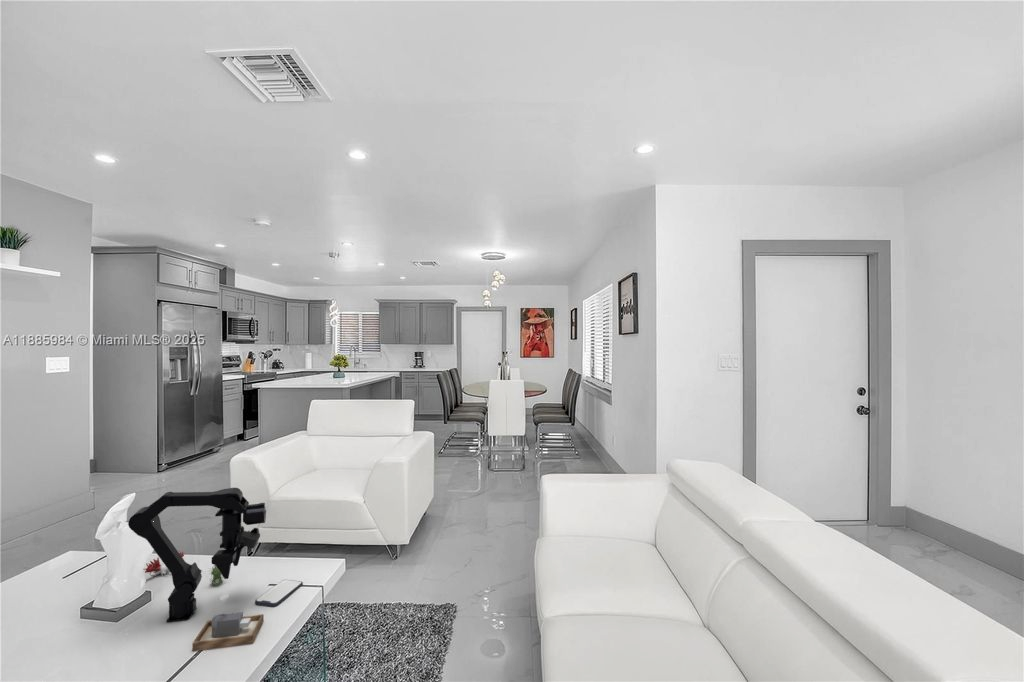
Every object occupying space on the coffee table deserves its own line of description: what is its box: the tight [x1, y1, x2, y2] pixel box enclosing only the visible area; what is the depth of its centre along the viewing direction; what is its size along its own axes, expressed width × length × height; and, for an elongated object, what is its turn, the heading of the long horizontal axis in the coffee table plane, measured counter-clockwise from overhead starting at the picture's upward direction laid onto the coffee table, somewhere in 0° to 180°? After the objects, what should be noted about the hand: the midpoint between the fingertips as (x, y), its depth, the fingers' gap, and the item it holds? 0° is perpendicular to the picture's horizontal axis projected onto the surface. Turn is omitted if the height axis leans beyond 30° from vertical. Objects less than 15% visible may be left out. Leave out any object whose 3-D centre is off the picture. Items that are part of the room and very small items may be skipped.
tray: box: [191, 614, 265, 652], centre depth 145 cm, size 16×11×2 cm
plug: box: [211, 611, 251, 638], centre depth 145 cm, size 10×4×5 cm, turn 103°
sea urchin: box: [203, 564, 231, 588], centre depth 174 cm, size 12×12×8 cm
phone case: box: [254, 579, 304, 608], centre depth 169 cm, size 9×2×16 cm
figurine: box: [144, 550, 185, 578], centre depth 182 cm, size 15×12×7 cm
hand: (231, 572), depth 160 cm, fingers open, 9 cm apart
